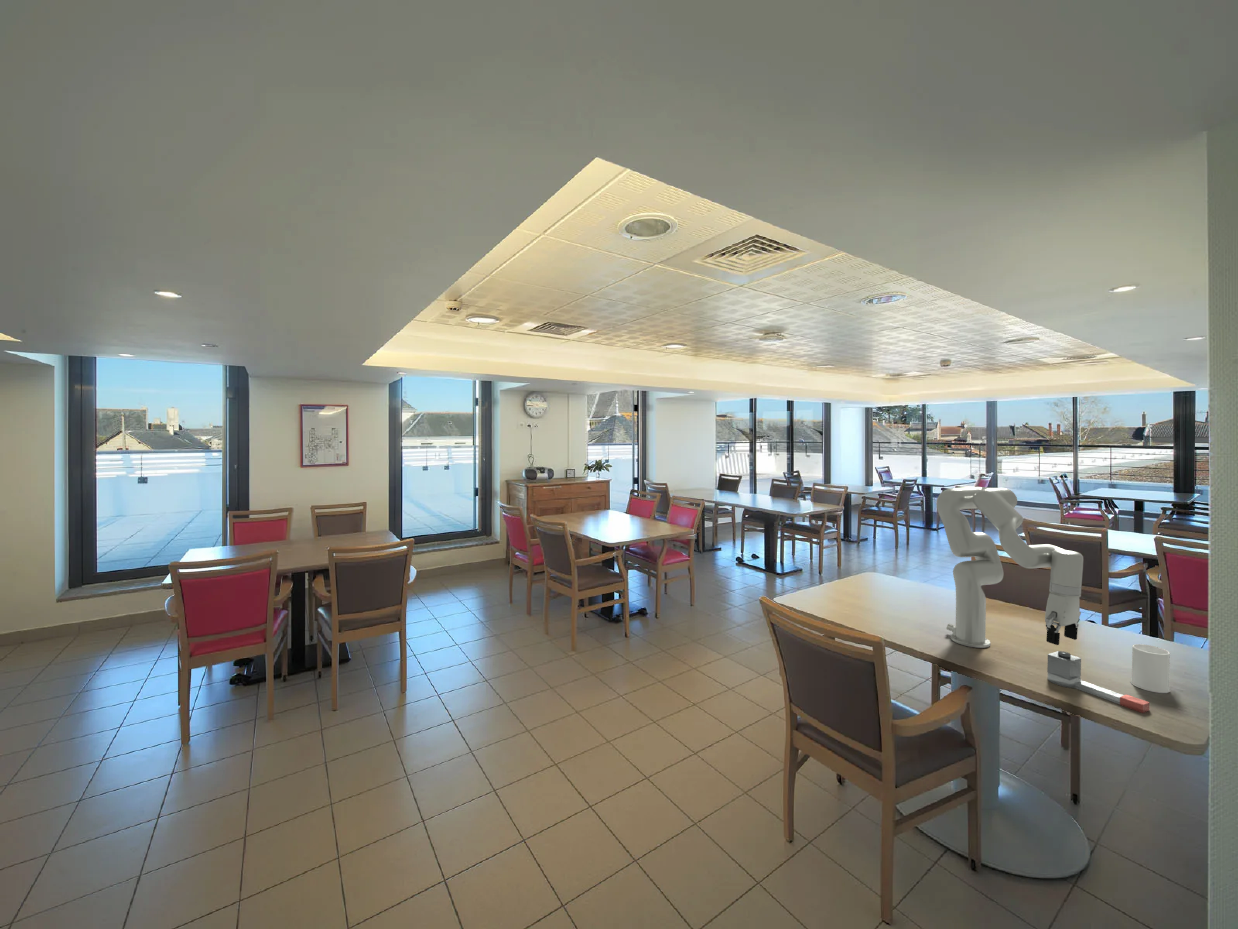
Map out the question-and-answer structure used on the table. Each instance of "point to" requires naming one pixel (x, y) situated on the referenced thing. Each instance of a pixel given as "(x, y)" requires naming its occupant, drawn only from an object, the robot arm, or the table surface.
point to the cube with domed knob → (1064, 665)
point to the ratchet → (1102, 693)
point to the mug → (1150, 668)
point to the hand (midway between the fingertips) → (1061, 640)
